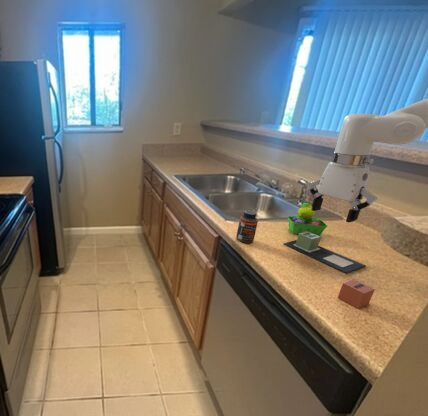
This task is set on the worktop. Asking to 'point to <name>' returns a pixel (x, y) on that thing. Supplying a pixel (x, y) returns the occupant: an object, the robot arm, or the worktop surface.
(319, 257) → the word mat
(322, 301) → the worktop surface
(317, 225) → the fruit basket
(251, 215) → the supplement bottle
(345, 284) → the block
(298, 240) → the block
